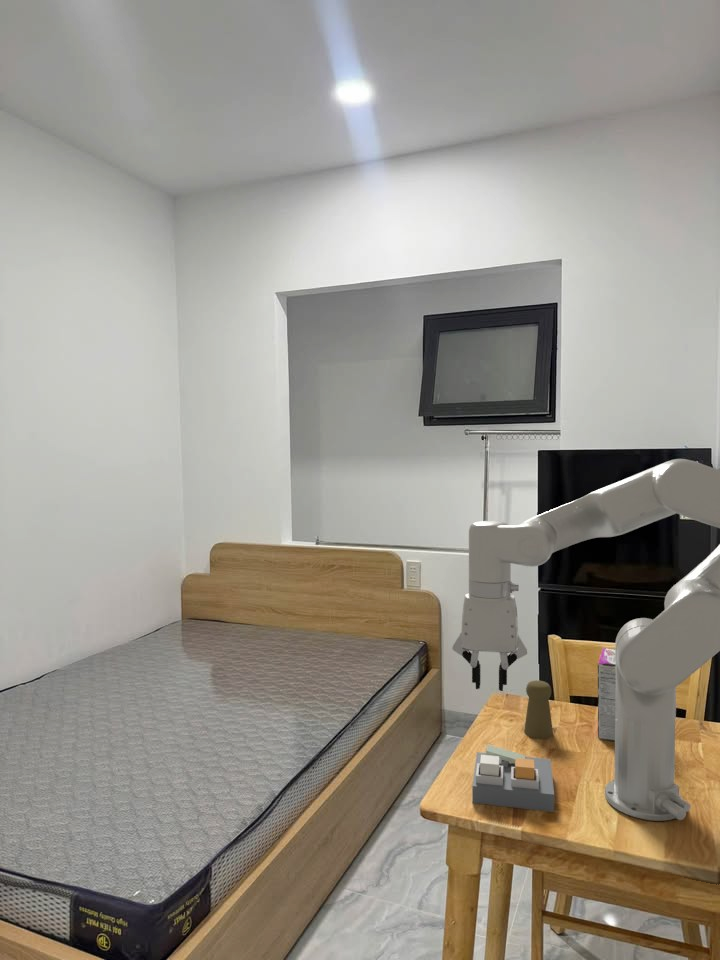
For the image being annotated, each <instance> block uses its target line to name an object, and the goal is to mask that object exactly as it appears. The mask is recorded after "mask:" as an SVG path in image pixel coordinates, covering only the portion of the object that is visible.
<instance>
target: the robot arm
mask: <svg viewBox="0 0 720 960" xmlns="http://www.w3.org/2000/svg"><path fill="white" fill-rule="evenodd" d="M676 514H677V515H681V516H683V517H686V518H688V519H691V520H693V521H697V522H699V523H703V524H706V525H708V526H712V527H715V528H717V529H720V469H718V468H714V467H712V466H708V465H706V464H704V463H703V464H702V463H700V462H697V461H695V460H690V459H686V458H675V459H671V460H668V461H665V462H663V463H660V464H657V465H655V466H653V467H650V468H647V469H646V470H643V471H641V472H638V473H635V474H633V475H631V476H629V477H626V478H624V479H622V480H618V481H617V482H614V483H611V484H609V485H606V486H604V487H601V488H598V489H596V490H594V491H591V492H590V493H588V494H586V495H584V496H582V497H580V498H577V499H575V500H573V501H571V502H568V503H565V504H562V505H560V506H558V507H555V508H553V509H550V510H549V511H545V512H543V513H541V514H538V515H536V516H533V517H531V518H528V519H527V520H524V521H523V522H522V523H520V524H517V525H509V524H507V523H506V522H503V521H498V520H480V521H475V522H472V524H470V526H469V529H468V593H465V595H464V599H463V604H462V616H461V617H462V618H461V632H460V633H459V635H458V637H457V639H456V640H455V642H454V643H453V645H452V648H451V649H452V651H454V652H456V653H457V654H458V655H460V656H462V658H463V659H464V660H465V661H467V663H468V664H469V666H470V667H471V683H473V684H475V690H479V689H481V664H480V661H479V654H480V653H479V652H484V653H499V658H500V663H499V665H498V691H500V692H504V686H507V685H508V669H509V667H510V666H512V664H514V663H515V662H516V661H517V660H520V658H523V657H524V656H526V655H528V649H527V647H526V645H525V644H524V642H523V640H522V638H521V636H520V635H519V623H518V609H517V603H516V602H517V601H516V597H515V595H513V594H512V593H513V592H519V591H520V590H519V588H520V587H519V585H520V584H519V583H515V582H513V581H511V574H512V572H511V570H512V568H511V566H512V565H511V564H514V565H517V566H522V567H530V568H531V567H533V568H534V567H539V566H541V565H543V564H545V563H547V562H548V560H550V558H551V556H552V554H553V553H555V552H557V551H560V550H563V549H566V548H568V547H570V546H572V545H573V546H574V545H575V544H579V543H581V542H584V541H587V540H591V539H596V538H612V537H617V536H621V535H625V534H627V533H630V532H632V531H634V530H637V529H639V528H641V527H644V526H647V525H650V524H652V523H654V522H658V521H660V520H663V519H666V518H668V517H671V516H673V515H676ZM663 605H664V610H663V611H661V613H659V614H658V615H657V616H656V617H655V618H653V619H652V618H649V617H648V618H647V617H640V618H635V619H632V620H629V621H628V622H626V623H625V624H624V625H623V626H622V627H621V628H620V630H619V631H618V633H617V635H616V638H615V644H614V646H615V647H614V649H615V662H616V706H615V741H614V779H613V780H611V781H609V782H608V783H606V785H605V787H604V797H605V799H606V801H607V802H608V803H609V804H610V805H611V806H612V807H613V808H614V809H616V810H618V811H619V812H621V813H623V814H626V815H628V816H629V817H633V818H637V819H640V820H645V821H653V822H654V821H656V822H661V821H662V822H663V821H671V820H674V819H677V820H678V821H683V820H684V819H685V817H686V816H687V812H689V811H690V810H691V804H690V803H689V802H688V801H686V800H685V799H683V797H682V795H680V786H679V785H677V784H676V783H675V773H676V771H675V769H676V768H675V767H676V766H675V765H676V764H675V761H676V757H675V756H676V749H675V748H676V718H677V716H676V715H677V687H678V686H679V685H680V684H682V683H683V682H685V681H686V680H687V679H688V678H689V677H690V676H692V675H693V674H694V673H695V672H697V671H698V670H699V669H700V668H701V667H702V666H704V665H705V664H706V663H708V662H709V661H710V660H711V659H712V658H713V657H714V656H716V655H717V654H718V653H719V652H720V543H719V544H718V546H717V547H716V548H715V549H714V550H713V551H712V552H710V553H709V555H708V556H707V557H706V558H705V559H703V560H702V562H700V563H698V564H697V566H695V567H694V568H693V569H692V570H691V571H690V572H689V573H688V574H686V575H685V576H684V577H683V578H681V579H680V580H678V582H676V584H673V586H671V588H670V589H669V590H668V591H667V593H666V595H665V597H664V603H663Z"/></svg>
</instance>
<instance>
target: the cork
mask: <svg viewBox="0 0 720 960" xmlns="http://www.w3.org/2000/svg"><path fill="white" fill-rule="evenodd" d="M525 692H526V695H527V696H528V700H527V701H528V702H527V706H526V707H527V709H526V717H525V720H524V721H525V722H524V730H523V732H524V735H526V736H527V737H530V738H531V739H538V740H546V739H550V738H552V737H553V736H554V730H553V722H552V715H551V706H550V700H549V699H550V697H551V696H552V688H551V686H550V684H549V683H548V682H546V681H543V680H531V681H529V682H528V683H527V685H526V688H525Z"/></svg>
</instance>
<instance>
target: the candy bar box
mask: <svg viewBox="0 0 720 960" xmlns="http://www.w3.org/2000/svg"><path fill="white" fill-rule="evenodd" d="M615 706H616V662H615V648H607V647H603V648H602V649H601V652H600V655H599V659H598V662H597V738H598V739H599V740H603V741H610V742H611V741H612V742H615Z"/></svg>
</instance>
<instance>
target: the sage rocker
mask: <svg viewBox="0 0 720 960" xmlns="http://www.w3.org/2000/svg"><path fill="white" fill-rule="evenodd" d="M485 753H486V755H490V756H499V759H501V760H504V761H508V762H511V763H514V764H515V758H522V759H525V757H526V755H524V754H521V753H519V752H515V751H512V750H508V749H505V748H502V747H498V746H494V745H492V744H489V743H487V744H486V749H485Z"/></svg>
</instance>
